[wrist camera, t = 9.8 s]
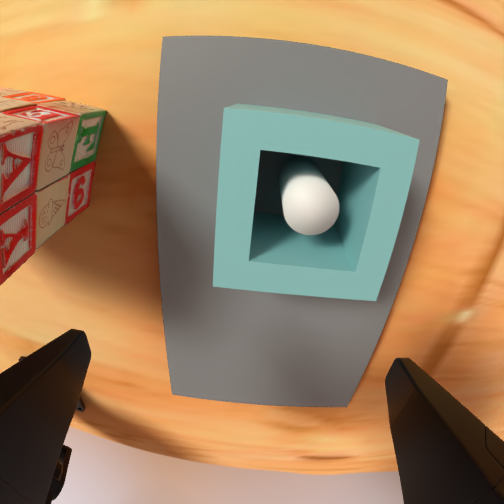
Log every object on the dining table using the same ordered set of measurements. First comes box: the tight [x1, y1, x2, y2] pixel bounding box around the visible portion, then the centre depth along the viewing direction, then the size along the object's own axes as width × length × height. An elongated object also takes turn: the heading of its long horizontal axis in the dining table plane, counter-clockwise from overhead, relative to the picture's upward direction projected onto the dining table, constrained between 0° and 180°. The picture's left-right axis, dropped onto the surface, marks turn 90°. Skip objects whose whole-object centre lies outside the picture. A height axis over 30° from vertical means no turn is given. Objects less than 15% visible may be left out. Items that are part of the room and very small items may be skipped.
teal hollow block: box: [213, 104, 420, 301], centre depth 13 cm, size 6×6×5 cm
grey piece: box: [156, 36, 448, 407], centre depth 16 cm, size 24×14×6 cm, turn 175°
